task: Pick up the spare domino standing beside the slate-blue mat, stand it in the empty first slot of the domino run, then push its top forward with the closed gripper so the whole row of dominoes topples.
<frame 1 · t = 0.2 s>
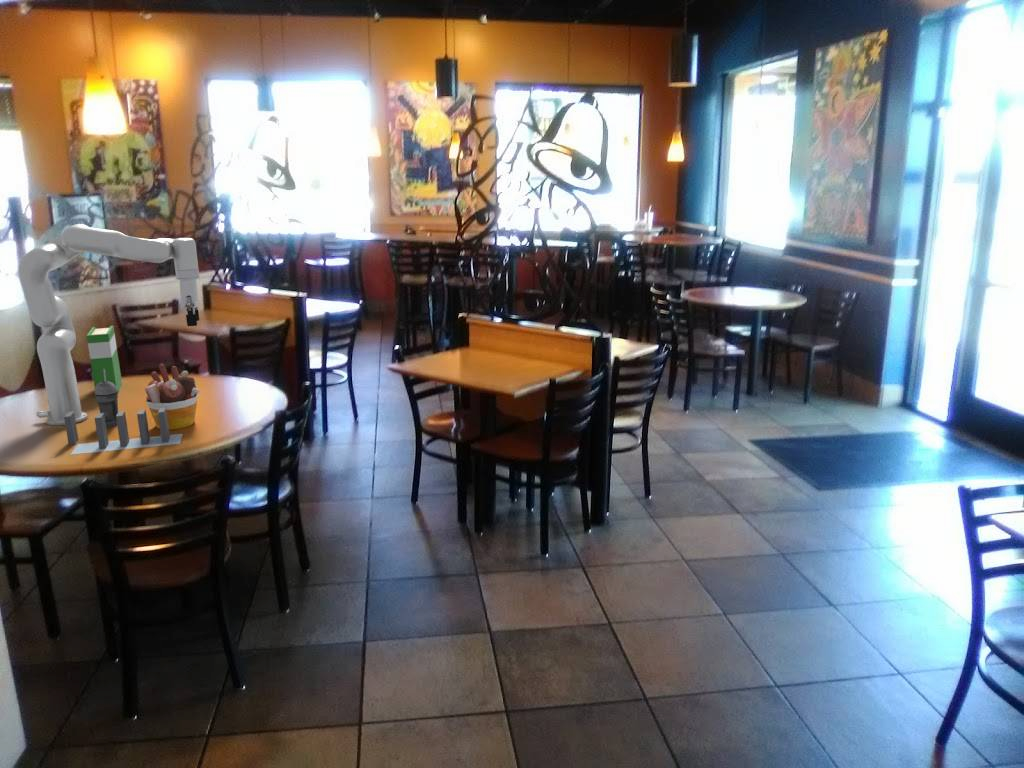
hand: (193, 323, 286), 31 cm above the table, fingers open, 9 cm apart
domino 4: (145, 442, 257), point 1 cm above the table, touching mat
bucket of meat: (175, 426, 275), on the table
mat: (128, 445, 256), on the table
spare domino: (74, 444, 258), on the table
beverage cup: (111, 426, 276), on the table
domino 3: (125, 444, 256), point 1 cm above the table, touching mat
domino 2: (104, 446, 254), point 1 cm above the table, touching mat
green tall box: (109, 391, 320), on the table
domino 5: (166, 440, 259), point 1 cm above the table, touching mat
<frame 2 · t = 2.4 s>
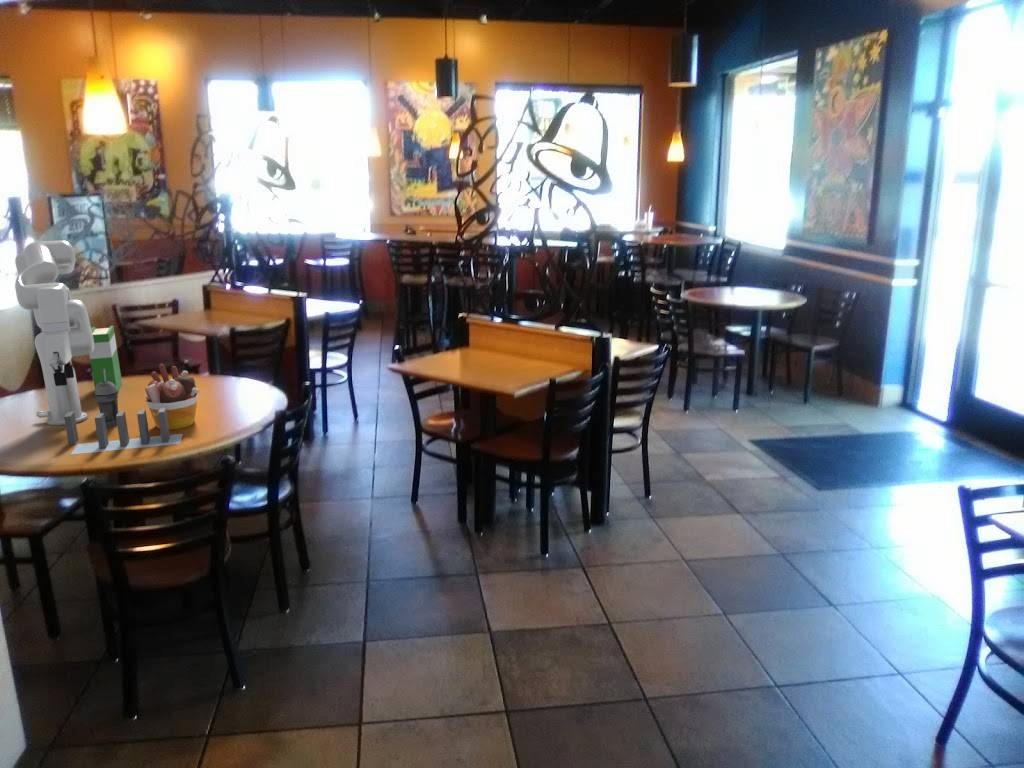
hand: (65, 381, 253), 20 cm above the table, fingers open, 9 cm apart
nothing on the table moved.
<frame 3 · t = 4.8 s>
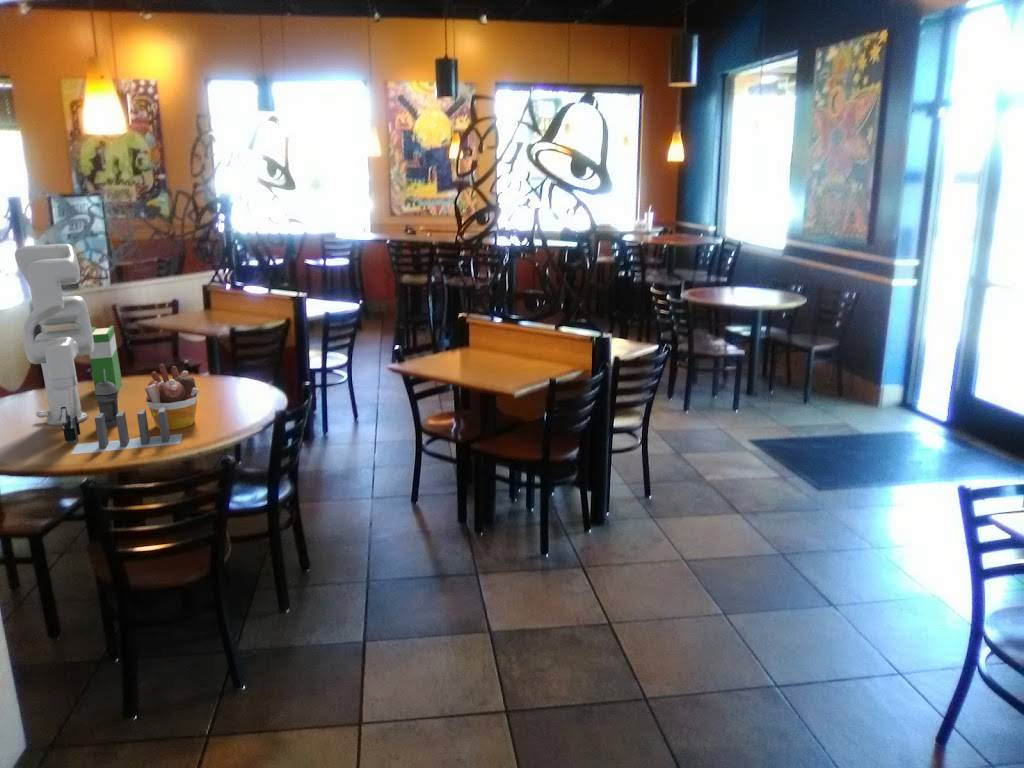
hand: (72, 437, 257), 2 cm above the table, fingers closed on spare domino, 4 cm apart
spare domino: (74, 444, 258), on the table, touching gripper
everything else where it was.
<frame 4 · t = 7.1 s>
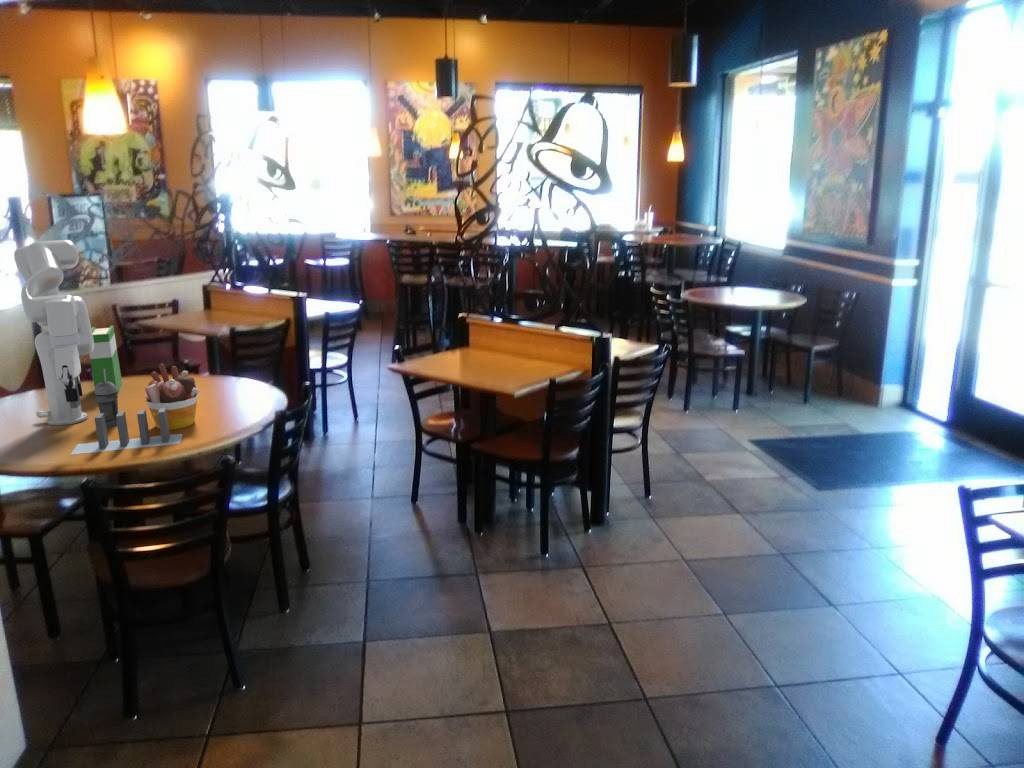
hand: (74, 398, 248), 17 cm above the table, fingers closed on spare domino, 4 cm apart
spare domino: (75, 405, 249), point 14 cm above the table, touching gripper
everything else where it was.
when the fingers open (4 cm above the table, at t = 9.7 s): spare domino stays where it is, resting on mat.
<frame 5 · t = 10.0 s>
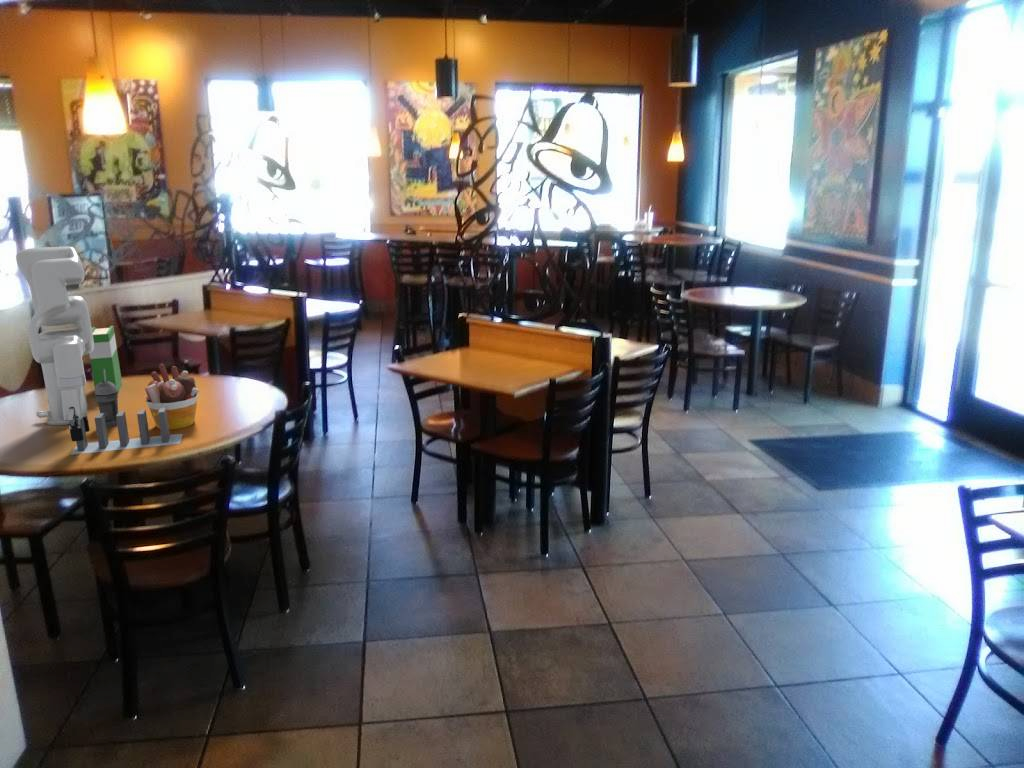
hand: (80, 436, 251), 5 cm above the table, fingers open, 8 cm apart
spare domino: (82, 448, 252), point 1 cm above the table, touching mat
everything else where it was.
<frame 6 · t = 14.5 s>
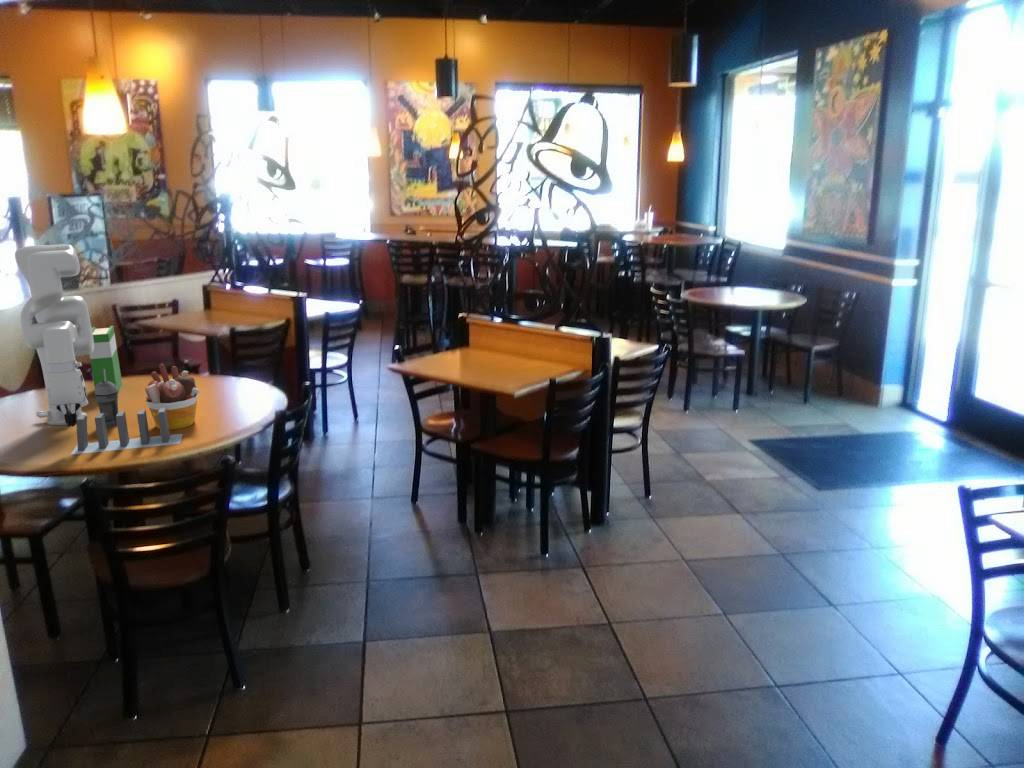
hand: (72, 425, 250), 8 cm above the table, fingers closed
spare domino: (82, 448, 252), point 1 cm above the table, tilted 6°, touching mat
everything else where it was.
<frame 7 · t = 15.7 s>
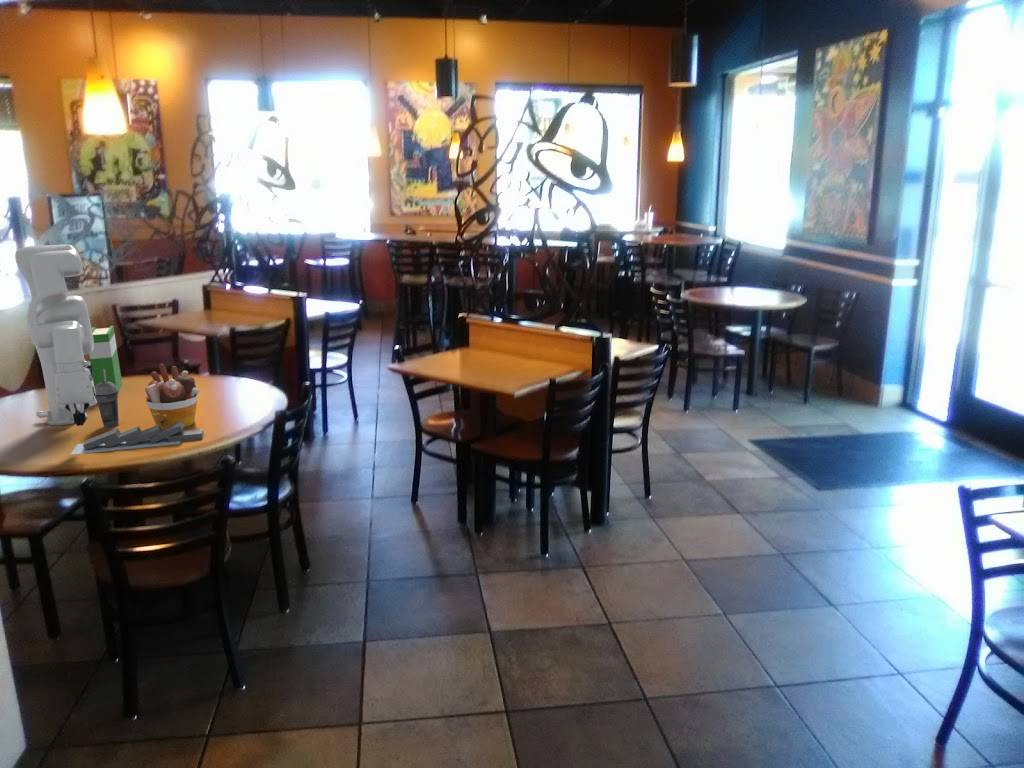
hand: (80, 424, 251), 8 cm above the table, fingers closed
domino 4: (151, 438, 257), point 1 cm above the table, tilted 70°, touching domino 3, domino 5, mat
spare domino: (85, 445, 252), point 1 cm above the table, tilted 73°, touching domino 2, mat
domino 3: (128, 441, 256), point 1 cm above the table, tilted 73°, touching domino 2, domino 4, mat
domino 2: (107, 443, 254), point 1 cm above the table, tilted 73°, touching domino 3, mat, spare domino
domino 5: (169, 437, 259), point 1 cm above the table, tilted 90°, touching domino 4, mat
everything else where it was.
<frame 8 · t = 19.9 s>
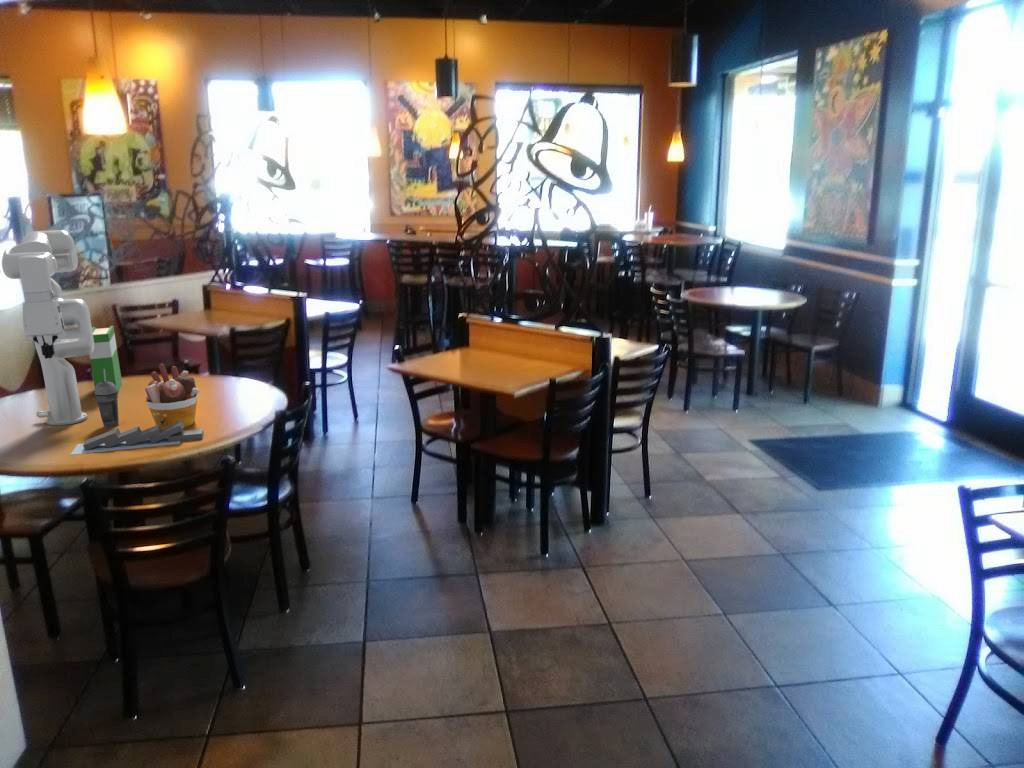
hand: (49, 357, 247), 29 cm above the table, fingers closed
nothing on the table moved.
at the end: domino 5 tilted 90°; spare domino tilted 73°; spare domino inside the target area (4.0 cm from its centre), point 1.5 cm above the table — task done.
